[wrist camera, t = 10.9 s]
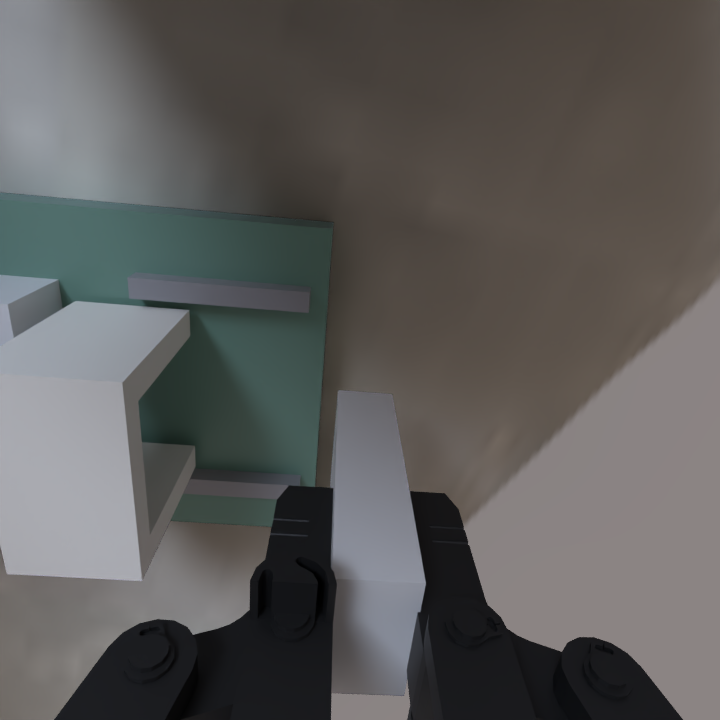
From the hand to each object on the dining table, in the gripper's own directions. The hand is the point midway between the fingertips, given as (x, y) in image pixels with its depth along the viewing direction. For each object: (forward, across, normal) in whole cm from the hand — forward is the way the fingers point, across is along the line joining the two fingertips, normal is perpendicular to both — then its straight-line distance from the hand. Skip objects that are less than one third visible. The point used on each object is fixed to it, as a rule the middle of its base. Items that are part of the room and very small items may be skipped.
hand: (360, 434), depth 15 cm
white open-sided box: (+2, -7, 0) cm, 7 cm away
